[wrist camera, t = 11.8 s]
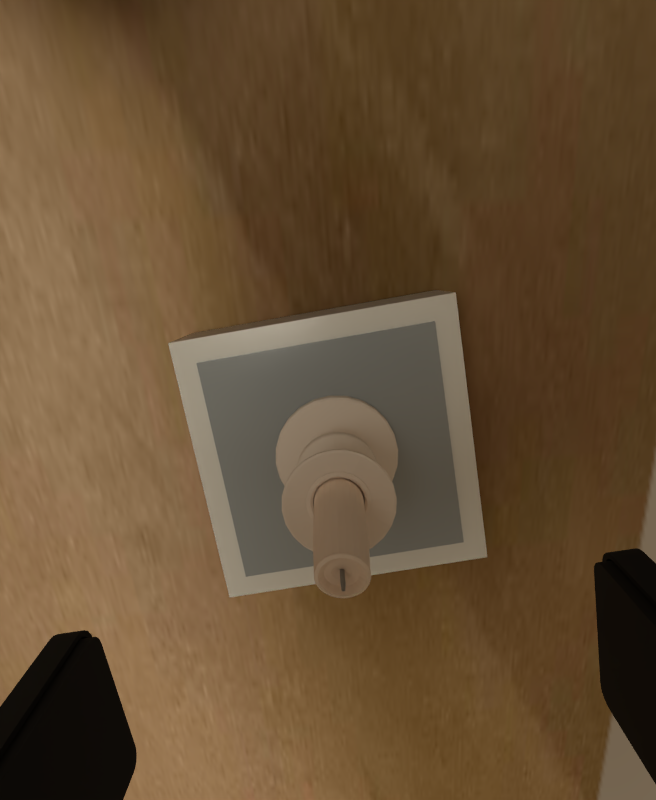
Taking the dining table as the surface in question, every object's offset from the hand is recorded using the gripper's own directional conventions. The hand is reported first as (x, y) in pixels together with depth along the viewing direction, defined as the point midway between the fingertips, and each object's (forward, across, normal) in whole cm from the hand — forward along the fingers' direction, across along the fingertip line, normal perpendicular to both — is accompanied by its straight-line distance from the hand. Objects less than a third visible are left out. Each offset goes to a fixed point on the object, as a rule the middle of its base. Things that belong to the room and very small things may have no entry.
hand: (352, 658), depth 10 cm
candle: (+14, 0, +1) cm, 14 cm away
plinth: (+18, 0, +1) cm, 18 cm away
